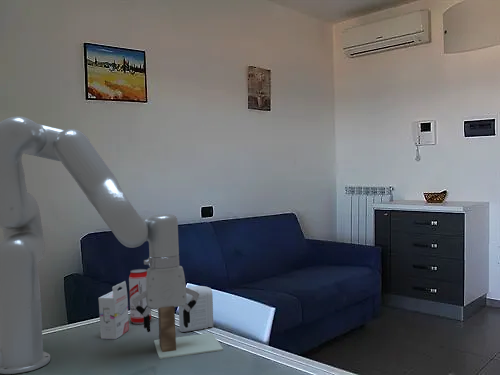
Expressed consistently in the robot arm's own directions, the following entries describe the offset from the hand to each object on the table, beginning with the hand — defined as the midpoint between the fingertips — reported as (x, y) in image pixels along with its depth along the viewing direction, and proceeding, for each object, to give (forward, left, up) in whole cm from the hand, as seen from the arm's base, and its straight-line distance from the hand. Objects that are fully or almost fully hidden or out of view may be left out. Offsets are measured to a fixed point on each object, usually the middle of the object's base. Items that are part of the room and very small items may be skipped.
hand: (167, 328), depth 128 cm
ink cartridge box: (-13, +18, -6) cm, 23 cm away
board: (+5, 0, -5) cm, 7 cm away
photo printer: (+10, +14, -6) cm, 18 cm away
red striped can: (-5, +28, -5) cm, 29 cm away
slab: (0, 0, -5) cm, 5 cm away
